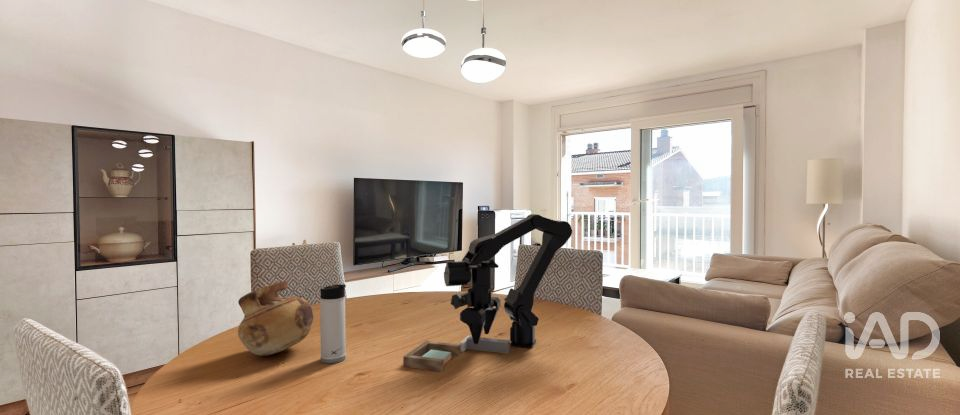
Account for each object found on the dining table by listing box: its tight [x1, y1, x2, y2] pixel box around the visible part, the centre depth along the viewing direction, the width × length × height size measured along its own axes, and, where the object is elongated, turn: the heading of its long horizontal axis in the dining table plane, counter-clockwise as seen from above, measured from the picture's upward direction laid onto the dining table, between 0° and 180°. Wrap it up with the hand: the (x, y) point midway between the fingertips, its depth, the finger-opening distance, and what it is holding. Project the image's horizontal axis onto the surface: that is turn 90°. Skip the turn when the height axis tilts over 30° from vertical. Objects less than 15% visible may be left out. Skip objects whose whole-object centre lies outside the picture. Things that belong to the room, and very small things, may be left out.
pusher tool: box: [459, 335, 511, 354], centre depth 121 cm, size 13×7×3 cm, turn 71°
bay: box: [402, 340, 462, 372], centre depth 113 cm, size 10×13×2 cm
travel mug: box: [319, 283, 347, 365], centre depth 114 cm, size 6×7×20 cm
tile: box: [422, 350, 452, 365], centre depth 113 cm, size 6×6×2 cm
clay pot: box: [237, 280, 314, 357], centre depth 118 cm, size 19×19×20 cm
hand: (481, 338), depth 121 cm, fingers open, 9 cm apart
